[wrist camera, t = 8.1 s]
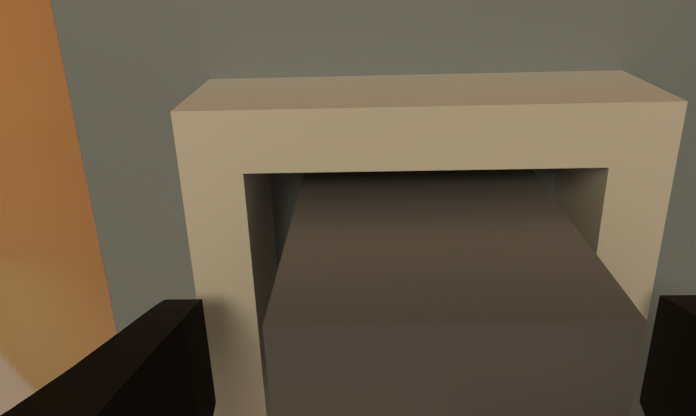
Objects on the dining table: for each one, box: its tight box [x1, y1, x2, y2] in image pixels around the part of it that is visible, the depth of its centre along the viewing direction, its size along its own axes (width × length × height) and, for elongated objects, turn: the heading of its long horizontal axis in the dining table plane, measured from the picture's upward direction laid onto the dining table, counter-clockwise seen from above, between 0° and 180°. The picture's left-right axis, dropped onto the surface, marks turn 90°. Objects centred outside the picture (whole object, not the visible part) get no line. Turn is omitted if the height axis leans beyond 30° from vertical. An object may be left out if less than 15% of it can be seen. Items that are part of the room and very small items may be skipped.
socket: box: [51, 0, 696, 416], centre depth 12 cm, size 13×14×4 cm
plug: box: [262, 169, 647, 416], centre depth 10 cm, size 4×4×6 cm
